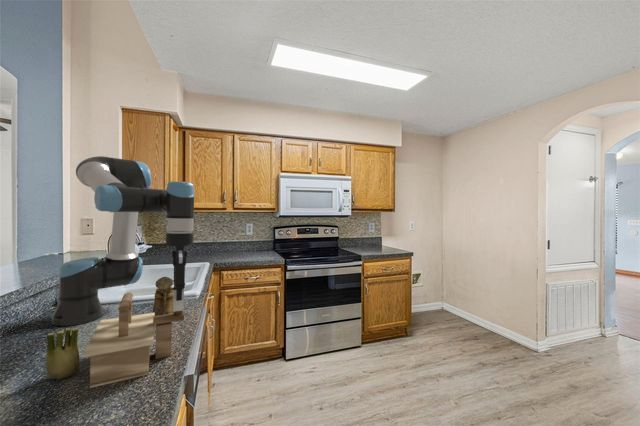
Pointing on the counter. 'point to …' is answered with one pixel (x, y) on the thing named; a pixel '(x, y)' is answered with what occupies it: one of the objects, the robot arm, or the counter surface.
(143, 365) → the toolbox
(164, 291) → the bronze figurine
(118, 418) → the counter surface
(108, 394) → the counter surface
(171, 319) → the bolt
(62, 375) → the fennel bulb
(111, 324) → the lid
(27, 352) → the counter surface
